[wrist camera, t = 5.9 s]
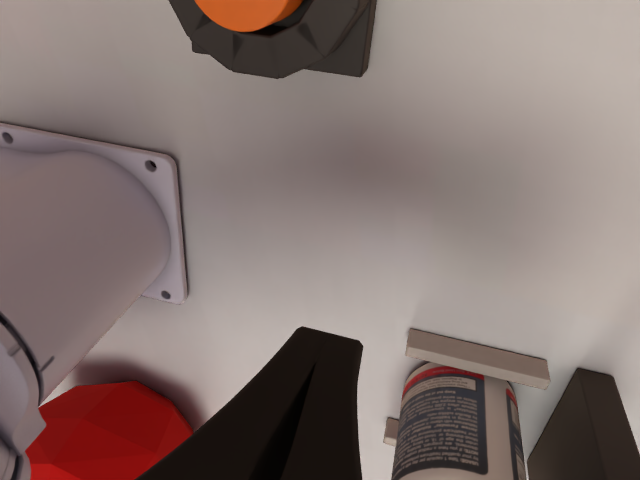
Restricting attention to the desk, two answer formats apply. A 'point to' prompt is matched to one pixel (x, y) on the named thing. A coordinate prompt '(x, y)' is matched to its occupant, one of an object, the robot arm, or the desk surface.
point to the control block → (288, 39)
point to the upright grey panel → (567, 420)
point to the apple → (105, 433)
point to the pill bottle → (457, 427)
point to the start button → (247, 12)
